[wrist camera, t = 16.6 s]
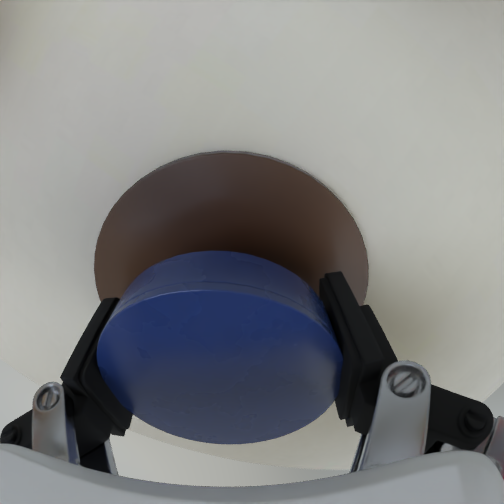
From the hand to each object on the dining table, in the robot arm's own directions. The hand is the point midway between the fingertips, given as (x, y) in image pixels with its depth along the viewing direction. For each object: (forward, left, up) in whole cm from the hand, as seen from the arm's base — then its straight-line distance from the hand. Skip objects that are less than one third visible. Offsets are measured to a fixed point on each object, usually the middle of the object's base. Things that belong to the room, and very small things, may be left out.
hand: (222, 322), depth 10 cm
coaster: (0, 0, -2) cm, 2 cm away
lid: (0, 0, +3) cm, 3 cm away
